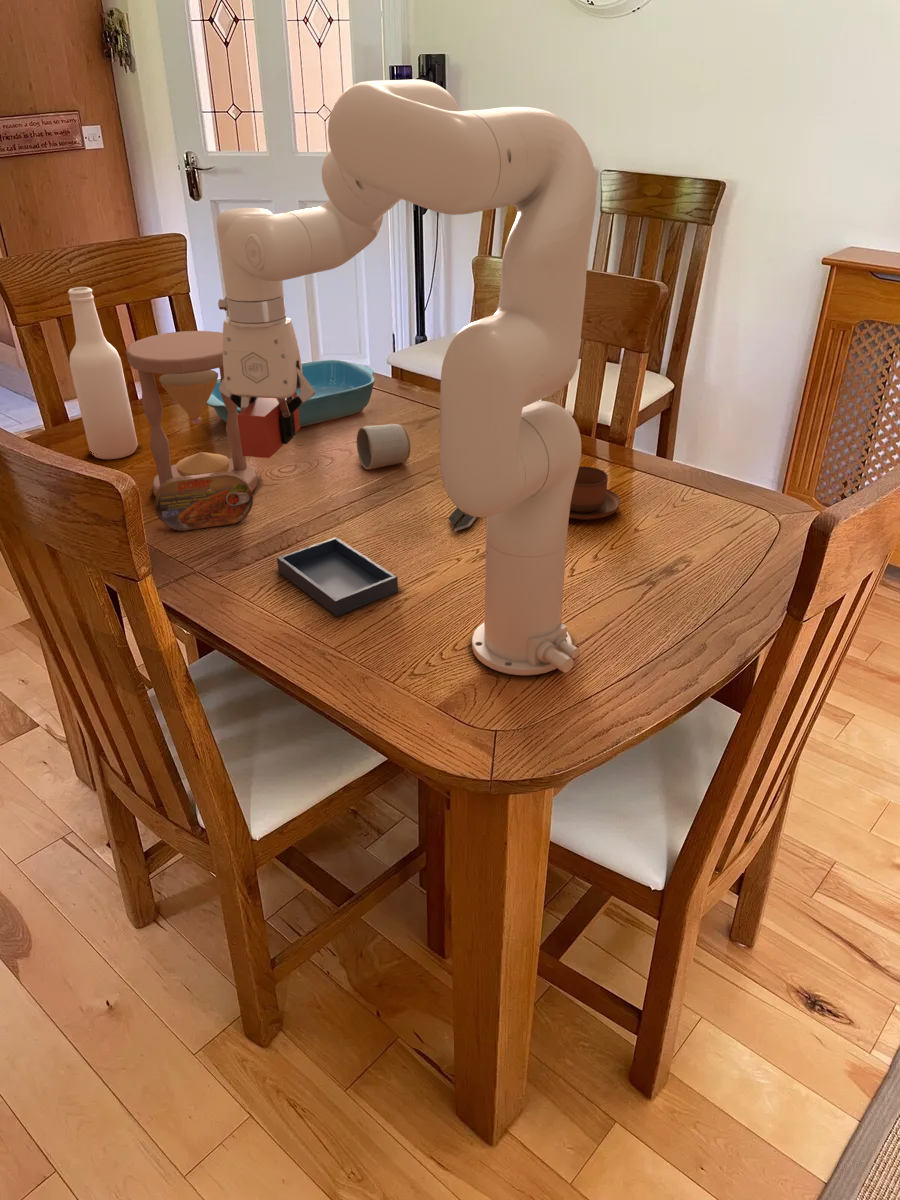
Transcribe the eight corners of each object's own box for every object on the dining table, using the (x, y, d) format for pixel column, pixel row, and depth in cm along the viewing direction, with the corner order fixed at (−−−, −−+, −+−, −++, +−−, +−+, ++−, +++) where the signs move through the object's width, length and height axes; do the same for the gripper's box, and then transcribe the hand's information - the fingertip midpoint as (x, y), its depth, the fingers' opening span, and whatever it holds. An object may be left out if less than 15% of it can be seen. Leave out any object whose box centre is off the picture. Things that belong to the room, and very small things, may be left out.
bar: (300, 428, 133) (296, 389, 130) (269, 458, 123) (264, 416, 120) (275, 426, 133) (270, 387, 130) (242, 456, 123) (236, 414, 120)
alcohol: (124, 461, 165) (89, 295, 149) (81, 458, 167) (42, 293, 151) (146, 444, 173) (115, 284, 157) (105, 441, 174) (69, 282, 158)
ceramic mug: (413, 467, 162) (412, 426, 158) (372, 475, 159) (370, 434, 155) (389, 448, 170) (387, 409, 166) (350, 456, 167) (347, 417, 163)
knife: (462, 537, 138) (462, 529, 138) (425, 529, 141) (425, 521, 140) (522, 477, 158) (522, 470, 157) (488, 471, 160) (488, 464, 159)
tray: (398, 591, 124) (397, 576, 123) (336, 616, 119) (335, 601, 118) (337, 550, 135) (336, 536, 133) (278, 571, 129) (276, 557, 128)
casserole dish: (229, 449, 170) (223, 413, 166) (191, 415, 186) (185, 382, 183) (396, 412, 187) (394, 379, 183) (348, 385, 203) (346, 353, 199)
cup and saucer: (554, 491, 153) (556, 457, 149) (624, 499, 150) (627, 465, 146) (538, 520, 143) (540, 485, 140) (613, 530, 140) (616, 494, 137)
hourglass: (249, 462, 164) (230, 326, 151) (265, 500, 150) (247, 353, 137) (150, 476, 159) (123, 336, 146) (158, 516, 145) (128, 365, 132)
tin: (159, 533, 140) (149, 484, 136) (159, 525, 143) (150, 476, 138) (256, 522, 143) (249, 473, 139) (254, 513, 146) (248, 466, 142)
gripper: (186, 313, 117) (207, 445, 126) (306, 319, 114) (318, 453, 123) (211, 300, 123) (229, 426, 133) (325, 305, 120) (335, 434, 129)
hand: (272, 438), depth 128 cm, fingers closed on bar, 4 cm apart
